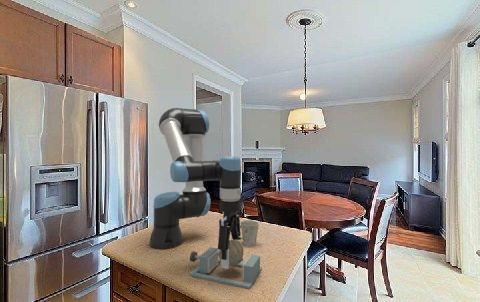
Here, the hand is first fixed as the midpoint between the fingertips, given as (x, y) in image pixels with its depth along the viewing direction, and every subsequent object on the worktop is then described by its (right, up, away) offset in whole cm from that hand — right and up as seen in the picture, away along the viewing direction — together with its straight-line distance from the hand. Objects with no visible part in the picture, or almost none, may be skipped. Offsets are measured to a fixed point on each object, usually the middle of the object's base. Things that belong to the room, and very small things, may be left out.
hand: (229, 262), depth 88 cm
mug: (+6, -4, +28) cm, 29 cm away
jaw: (-10, -3, +4) cm, 12 cm away
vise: (-1, -4, +1) cm, 4 cm away
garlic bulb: (0, -1, 0) cm, 1 cm away
